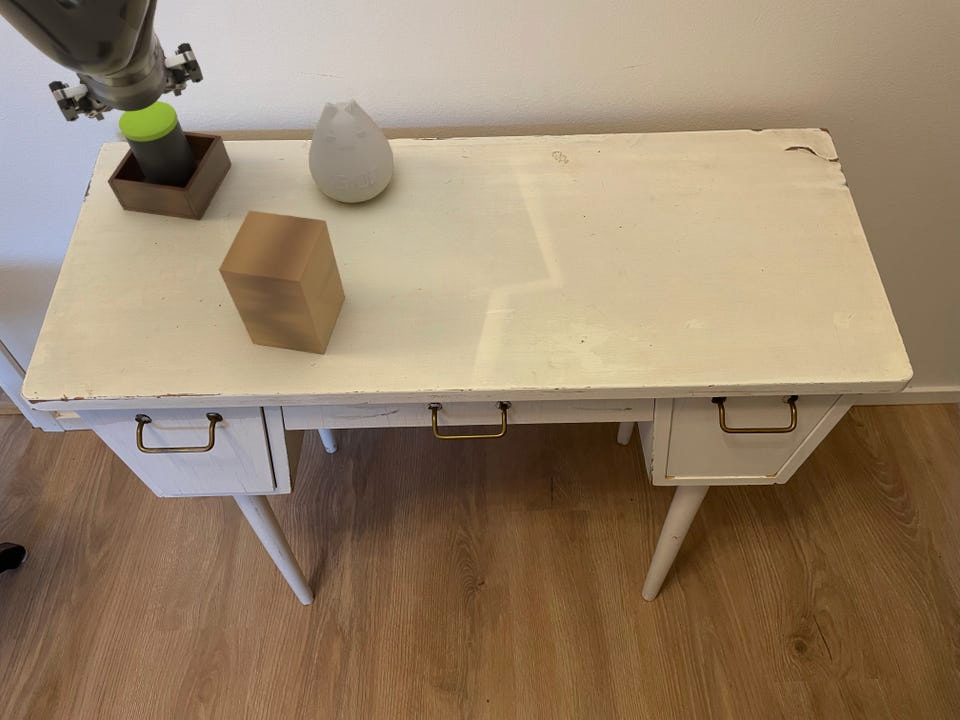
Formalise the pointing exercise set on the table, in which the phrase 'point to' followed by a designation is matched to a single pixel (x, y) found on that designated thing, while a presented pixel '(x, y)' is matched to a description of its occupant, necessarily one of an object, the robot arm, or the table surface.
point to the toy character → (349, 154)
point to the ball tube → (159, 144)
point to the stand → (284, 281)
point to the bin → (169, 199)
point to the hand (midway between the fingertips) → (136, 98)
